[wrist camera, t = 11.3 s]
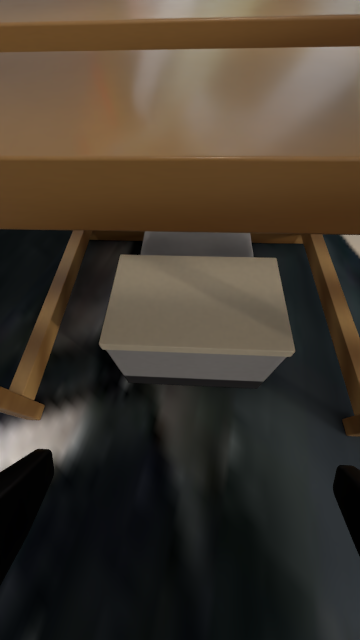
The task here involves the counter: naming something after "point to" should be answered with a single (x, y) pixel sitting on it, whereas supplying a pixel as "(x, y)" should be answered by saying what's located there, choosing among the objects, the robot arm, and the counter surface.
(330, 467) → the counter surface
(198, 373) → the grey lidded shoebox
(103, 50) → the shoe rack
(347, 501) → the robot arm
